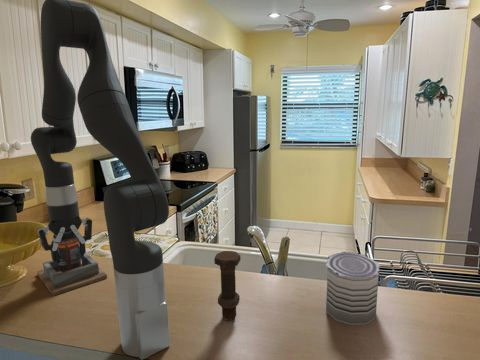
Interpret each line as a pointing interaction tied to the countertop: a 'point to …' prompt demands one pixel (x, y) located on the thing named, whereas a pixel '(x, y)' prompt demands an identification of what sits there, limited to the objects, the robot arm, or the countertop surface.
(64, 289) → the socket board
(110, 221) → the robot arm
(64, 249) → the supplement bottle
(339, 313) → the can
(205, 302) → the countertop surface
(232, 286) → the bolt
